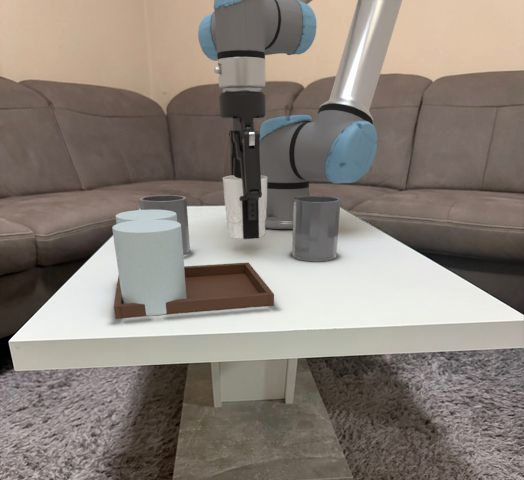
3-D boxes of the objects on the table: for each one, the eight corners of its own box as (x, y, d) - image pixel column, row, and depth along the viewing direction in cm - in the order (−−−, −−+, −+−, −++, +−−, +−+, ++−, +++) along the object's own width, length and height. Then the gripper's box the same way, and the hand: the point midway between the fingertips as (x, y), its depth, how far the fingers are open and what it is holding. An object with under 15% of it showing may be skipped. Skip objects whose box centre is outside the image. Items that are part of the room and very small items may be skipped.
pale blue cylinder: (184, 292, 63) (178, 218, 59) (189, 312, 56) (183, 230, 52) (124, 296, 61) (113, 220, 57) (122, 318, 54) (110, 233, 50)
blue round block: (179, 275, 70) (174, 208, 66) (184, 292, 63) (178, 218, 59) (126, 279, 68) (116, 210, 64) (124, 296, 61) (113, 220, 57)
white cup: (263, 240, 80) (262, 180, 75) (220, 239, 81) (216, 179, 77) (271, 230, 87) (271, 174, 82) (231, 229, 88) (229, 174, 84)
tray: (248, 275, 72) (248, 262, 71) (274, 309, 59) (274, 293, 58) (121, 284, 68) (119, 270, 67) (116, 323, 55) (113, 306, 54)
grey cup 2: (326, 249, 88) (330, 195, 83) (343, 260, 81) (347, 201, 76) (287, 251, 86) (288, 196, 82) (300, 262, 79) (302, 203, 75)
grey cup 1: (187, 248, 88) (184, 194, 84) (192, 258, 81) (188, 200, 77) (145, 250, 87) (139, 195, 82) (146, 261, 80) (139, 202, 75)
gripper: (210, 94, 82) (217, 223, 92) (230, 87, 64) (236, 248, 74) (251, 94, 83) (254, 221, 94) (281, 87, 66) (280, 244, 76)
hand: (246, 233), depth 84 cm, fingers closed on white cup, 8 cm apart
